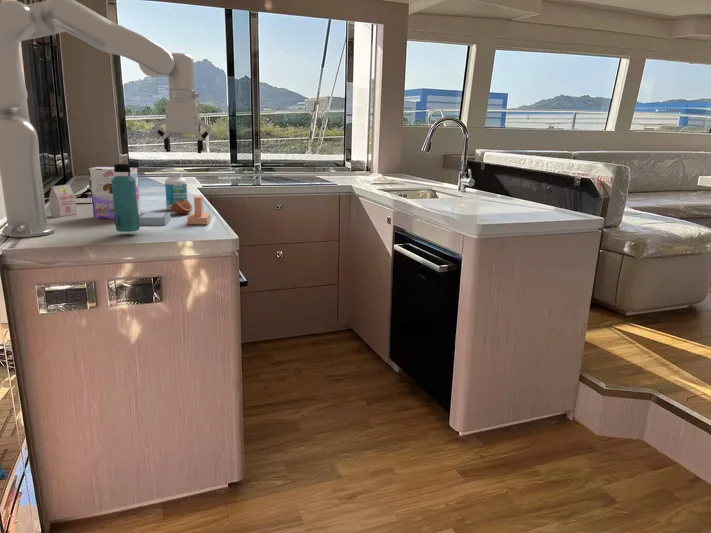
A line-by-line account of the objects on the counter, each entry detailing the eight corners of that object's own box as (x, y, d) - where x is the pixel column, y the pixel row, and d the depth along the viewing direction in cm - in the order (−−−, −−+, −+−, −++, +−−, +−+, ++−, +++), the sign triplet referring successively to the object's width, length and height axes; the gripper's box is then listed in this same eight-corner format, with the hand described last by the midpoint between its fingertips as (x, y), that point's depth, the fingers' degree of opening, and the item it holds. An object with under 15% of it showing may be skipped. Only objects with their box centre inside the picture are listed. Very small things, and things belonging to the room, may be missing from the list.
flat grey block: (165, 225, 168) (164, 217, 167) (128, 225, 166) (127, 217, 165) (170, 219, 176) (170, 212, 175) (135, 219, 175) (135, 212, 174)
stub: (207, 224, 169) (206, 198, 167) (187, 224, 168) (186, 198, 166) (210, 219, 178) (209, 194, 176) (191, 219, 177) (190, 194, 175)
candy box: (142, 217, 179) (138, 167, 175) (133, 220, 173) (129, 169, 169) (102, 215, 180) (98, 166, 176) (92, 218, 175) (87, 167, 170)
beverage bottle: (145, 233, 155) (140, 163, 150) (131, 238, 149) (125, 165, 144) (125, 231, 156) (119, 162, 151) (110, 236, 150) (103, 164, 145)
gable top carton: (51, 216, 176) (47, 186, 173) (68, 213, 182) (65, 184, 179) (59, 217, 174) (55, 186, 172) (76, 214, 180) (73, 184, 178)
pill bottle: (175, 211, 191) (173, 173, 188) (162, 209, 195) (159, 171, 192) (192, 209, 198) (190, 172, 194) (178, 207, 201) (176, 170, 198)
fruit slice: (184, 216, 183) (183, 202, 182) (166, 215, 184) (165, 201, 183) (195, 212, 191) (195, 198, 189) (178, 211, 192) (177, 197, 191)
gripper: (212, 98, 171) (213, 153, 175) (155, 95, 168) (158, 150, 173) (208, 97, 163) (210, 154, 168) (149, 94, 161) (152, 152, 166)
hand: (184, 152), depth 170 cm, fingers open, 9 cm apart
